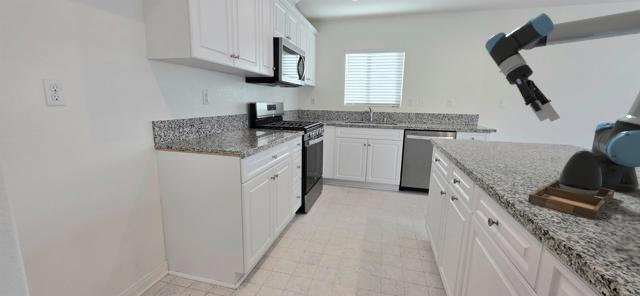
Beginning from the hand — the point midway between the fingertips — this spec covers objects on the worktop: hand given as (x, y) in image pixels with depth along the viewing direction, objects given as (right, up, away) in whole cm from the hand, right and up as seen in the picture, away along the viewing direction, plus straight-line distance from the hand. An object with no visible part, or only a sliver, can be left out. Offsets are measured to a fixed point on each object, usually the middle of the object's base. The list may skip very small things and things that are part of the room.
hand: (550, 119), depth 92 cm
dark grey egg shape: (+6, -26, -3) cm, 27 cm away
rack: (0, -26, -7) cm, 27 cm away
